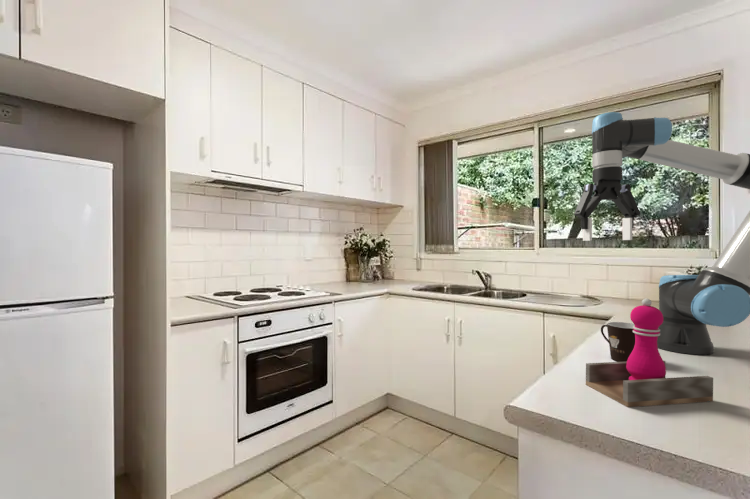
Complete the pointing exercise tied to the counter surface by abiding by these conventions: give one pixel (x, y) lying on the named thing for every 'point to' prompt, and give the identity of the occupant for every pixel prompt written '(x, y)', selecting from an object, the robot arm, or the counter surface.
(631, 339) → the coffee mug
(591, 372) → the rail track
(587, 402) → the counter surface
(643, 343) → the pepper mill
